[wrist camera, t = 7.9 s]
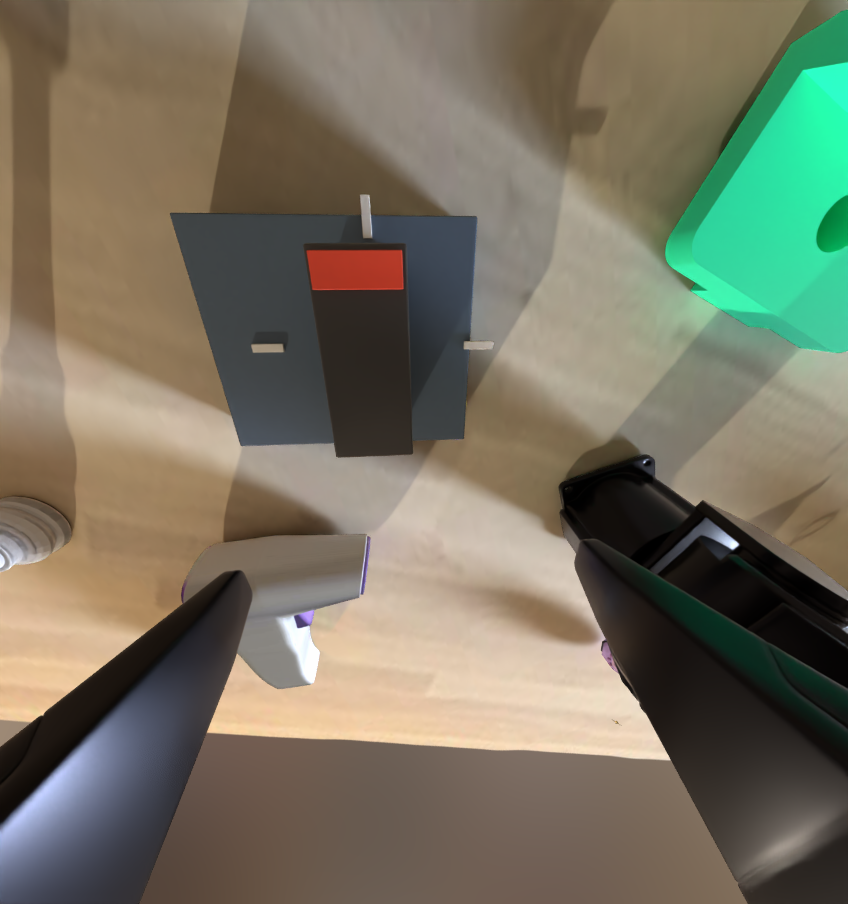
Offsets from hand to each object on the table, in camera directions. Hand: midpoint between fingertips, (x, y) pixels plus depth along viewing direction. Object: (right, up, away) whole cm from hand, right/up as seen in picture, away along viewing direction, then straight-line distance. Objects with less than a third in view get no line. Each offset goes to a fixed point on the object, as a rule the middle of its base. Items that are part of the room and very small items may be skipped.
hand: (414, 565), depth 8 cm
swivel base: (-4, +9, +8) cm, 13 cm away
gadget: (-2, +8, +6) cm, 10 cm away
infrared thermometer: (-9, -9, +17) cm, 21 cm away
